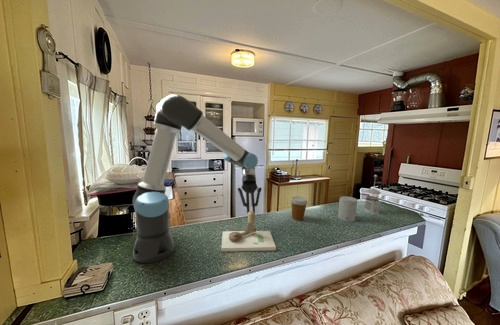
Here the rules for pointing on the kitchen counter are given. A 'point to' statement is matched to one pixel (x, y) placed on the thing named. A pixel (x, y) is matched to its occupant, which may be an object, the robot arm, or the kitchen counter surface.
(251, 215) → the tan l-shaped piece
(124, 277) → the kitchen counter surface
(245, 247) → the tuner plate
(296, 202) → the disposable coffee cup
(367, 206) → the french press
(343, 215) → the grey cylinder
